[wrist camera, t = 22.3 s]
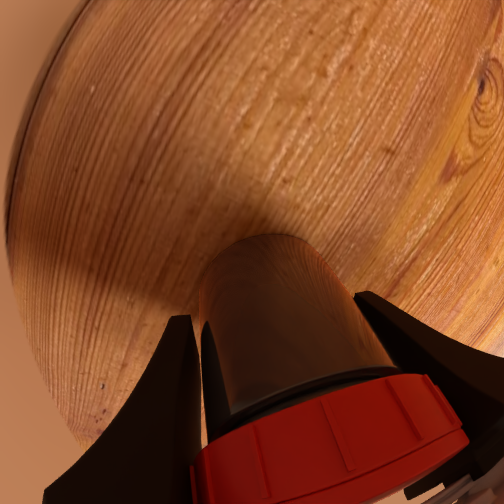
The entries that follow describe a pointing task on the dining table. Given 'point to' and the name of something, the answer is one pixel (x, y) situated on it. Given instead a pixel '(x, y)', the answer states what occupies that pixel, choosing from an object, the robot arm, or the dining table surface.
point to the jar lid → (334, 447)
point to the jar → (279, 333)
